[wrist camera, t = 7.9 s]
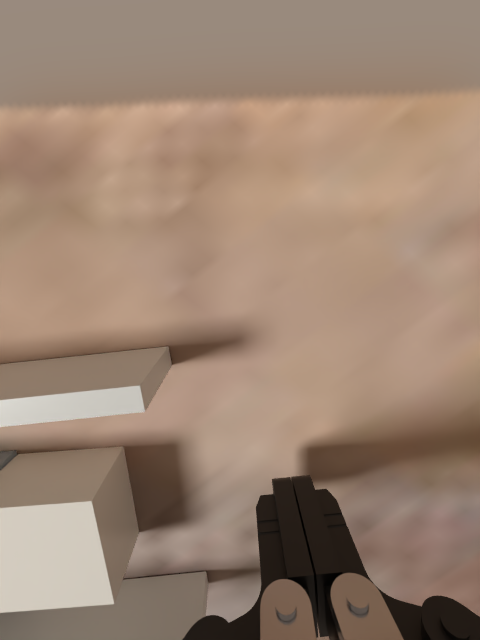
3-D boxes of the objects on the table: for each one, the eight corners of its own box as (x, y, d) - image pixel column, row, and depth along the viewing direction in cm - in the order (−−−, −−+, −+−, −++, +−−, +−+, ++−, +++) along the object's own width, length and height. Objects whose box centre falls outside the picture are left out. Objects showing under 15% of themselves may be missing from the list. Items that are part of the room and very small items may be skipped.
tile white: (125, 443, 12) (91, 501, 10) (140, 528, 13) (114, 604, 10) (21, 451, 12) (-45, 511, 10) (44, 535, 13) (-10, 613, 10)
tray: (168, 346, 11) (139, 385, 8) (208, 584, 14) (199, 691, 10) (-149, 380, 11) (-314, 433, 8) (-50, 610, 14) (-142, 725, 11)
